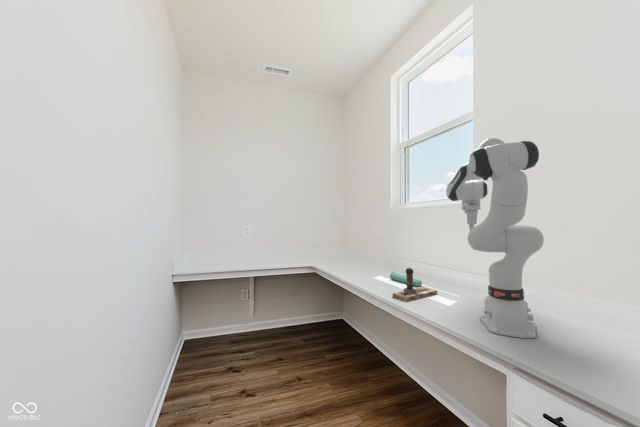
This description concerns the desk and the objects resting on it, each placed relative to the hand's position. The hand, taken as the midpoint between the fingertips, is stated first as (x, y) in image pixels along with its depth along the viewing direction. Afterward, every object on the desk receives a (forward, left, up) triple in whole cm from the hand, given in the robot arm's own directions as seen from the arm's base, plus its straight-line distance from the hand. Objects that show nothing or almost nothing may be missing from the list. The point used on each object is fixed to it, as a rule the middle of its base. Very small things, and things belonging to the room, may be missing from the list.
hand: (471, 232), depth 149 cm
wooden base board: (-9, +28, -34) cm, 45 cm away
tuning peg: (-13, +29, -32) cm, 45 cm away
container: (+20, +38, -35) cm, 55 cm away
